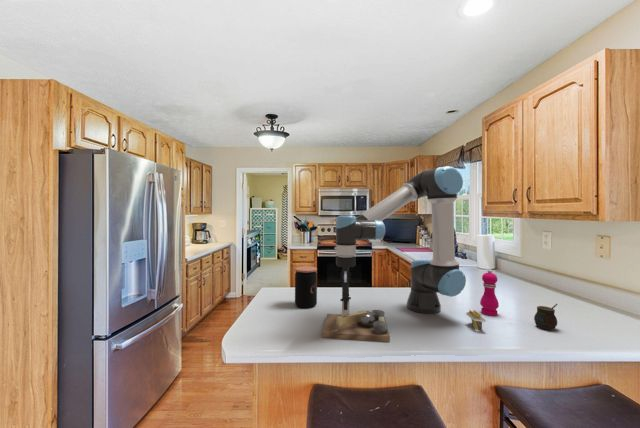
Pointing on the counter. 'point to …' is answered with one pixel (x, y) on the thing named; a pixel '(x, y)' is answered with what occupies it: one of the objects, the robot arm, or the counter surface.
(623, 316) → the counter surface
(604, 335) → the counter surface
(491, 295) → the pepper mill
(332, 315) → the instrument base
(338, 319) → the ball-head mallet
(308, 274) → the coffee jar
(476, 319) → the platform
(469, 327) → the counter surface
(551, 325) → the mate gourd
